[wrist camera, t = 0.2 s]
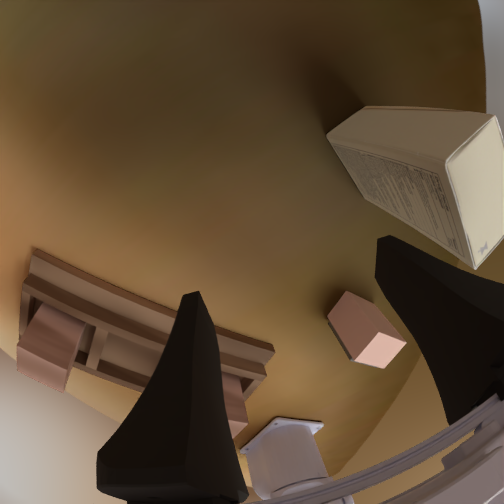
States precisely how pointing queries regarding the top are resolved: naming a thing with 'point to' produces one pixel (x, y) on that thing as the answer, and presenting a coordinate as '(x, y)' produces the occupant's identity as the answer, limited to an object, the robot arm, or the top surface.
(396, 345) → the rose block
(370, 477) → the robot arm
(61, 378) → the walnut rack
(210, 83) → the top surface
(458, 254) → the skincare box
